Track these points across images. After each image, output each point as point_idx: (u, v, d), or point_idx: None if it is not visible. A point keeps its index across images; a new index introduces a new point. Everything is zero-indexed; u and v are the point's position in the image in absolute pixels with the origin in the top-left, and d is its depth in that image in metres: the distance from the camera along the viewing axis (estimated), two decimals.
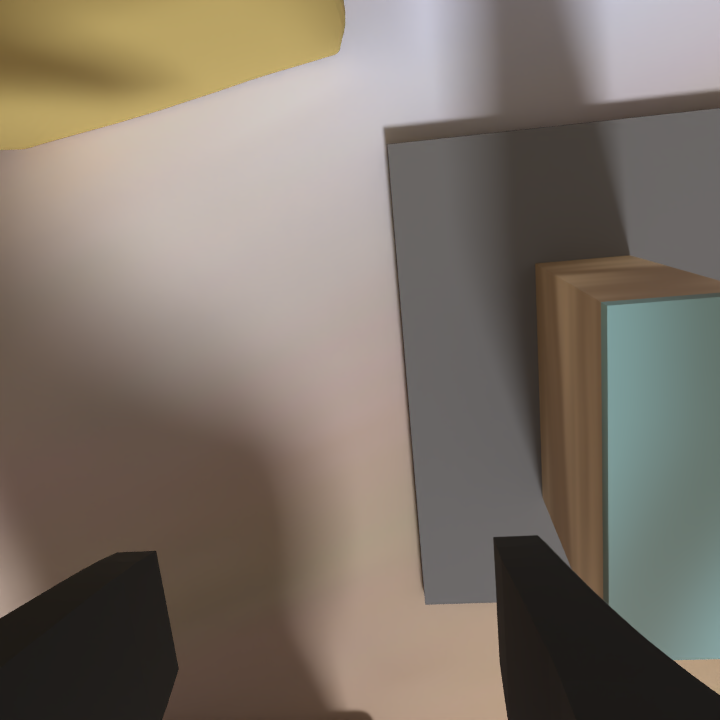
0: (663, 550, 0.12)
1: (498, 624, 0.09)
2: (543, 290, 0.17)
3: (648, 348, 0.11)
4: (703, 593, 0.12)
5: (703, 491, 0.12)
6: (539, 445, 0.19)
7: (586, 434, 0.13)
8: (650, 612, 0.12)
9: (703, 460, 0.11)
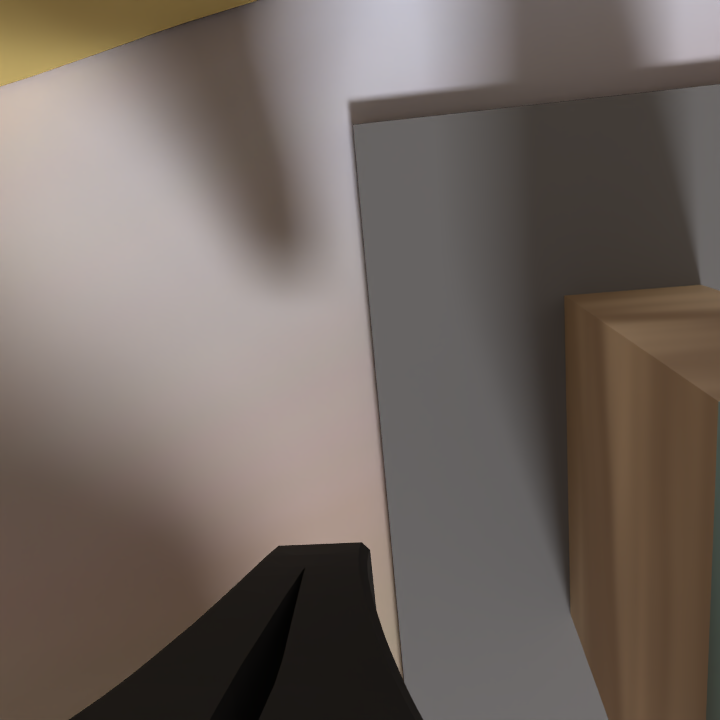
0: None
1: None
2: (578, 337, 0.11)
3: None
4: None
5: None
6: (567, 544, 0.14)
7: (665, 599, 0.08)
8: None
9: None
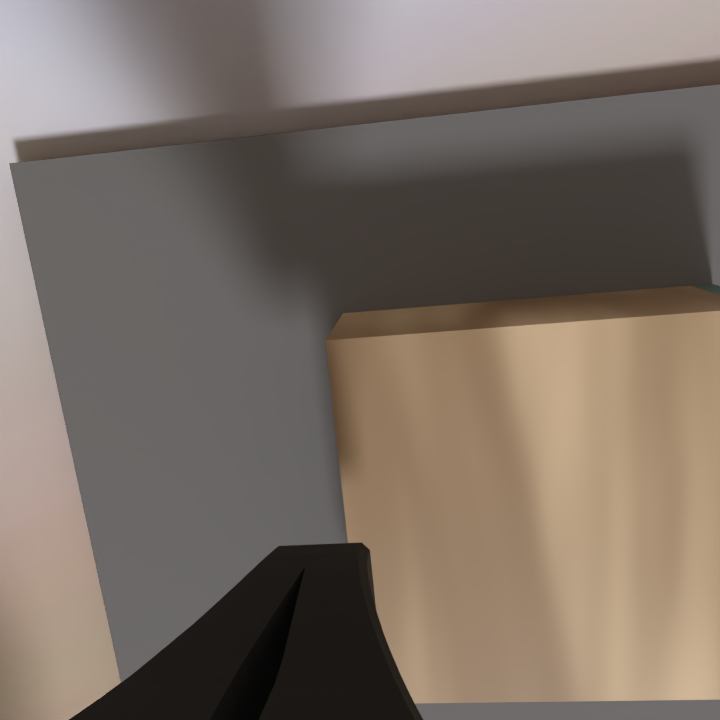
0: None
1: None
2: (396, 370, 0.10)
3: None
4: None
5: None
6: (253, 556, 0.14)
7: (671, 489, 0.11)
8: None
9: None
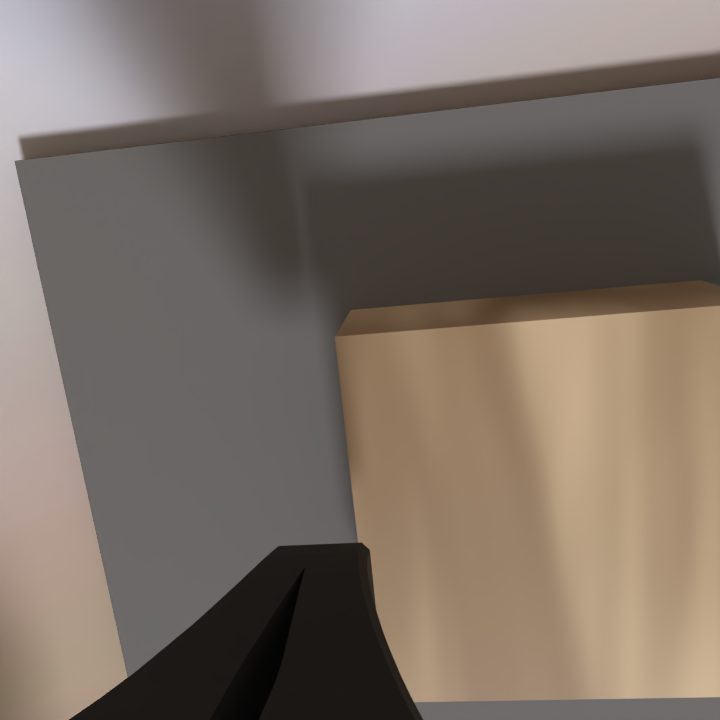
0: None
1: None
2: (406, 366, 0.10)
3: None
4: None
5: None
6: (260, 555, 0.14)
7: (684, 485, 0.10)
8: None
9: None
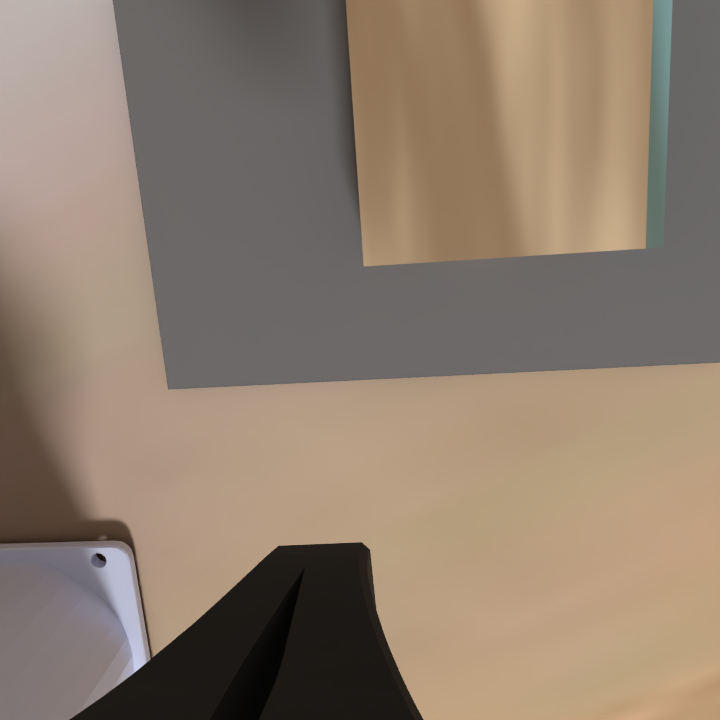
0: None
1: None
2: None
3: None
4: None
5: None
6: (272, 203, 0.18)
7: (595, 64, 0.14)
8: None
9: None
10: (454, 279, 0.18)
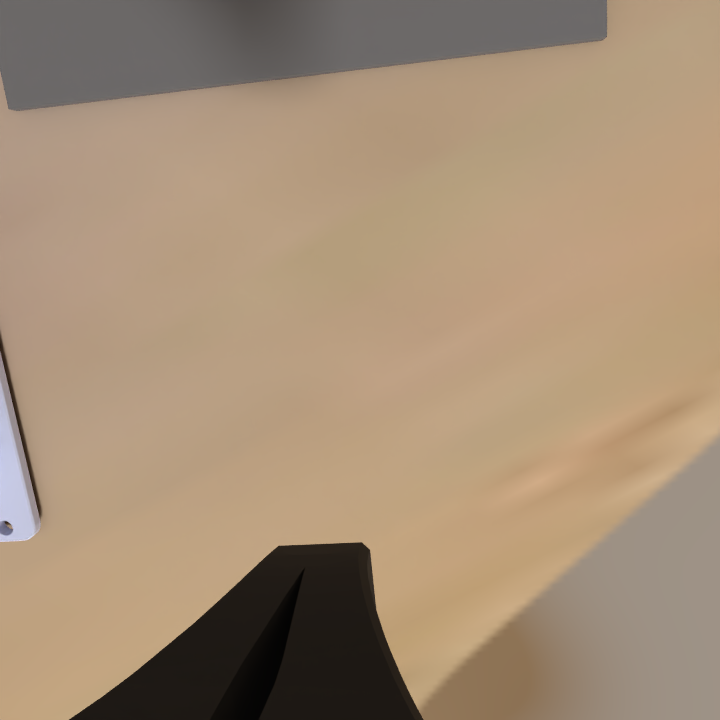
0: None
1: None
2: None
3: None
4: None
5: None
6: None
7: None
8: None
9: None
10: None
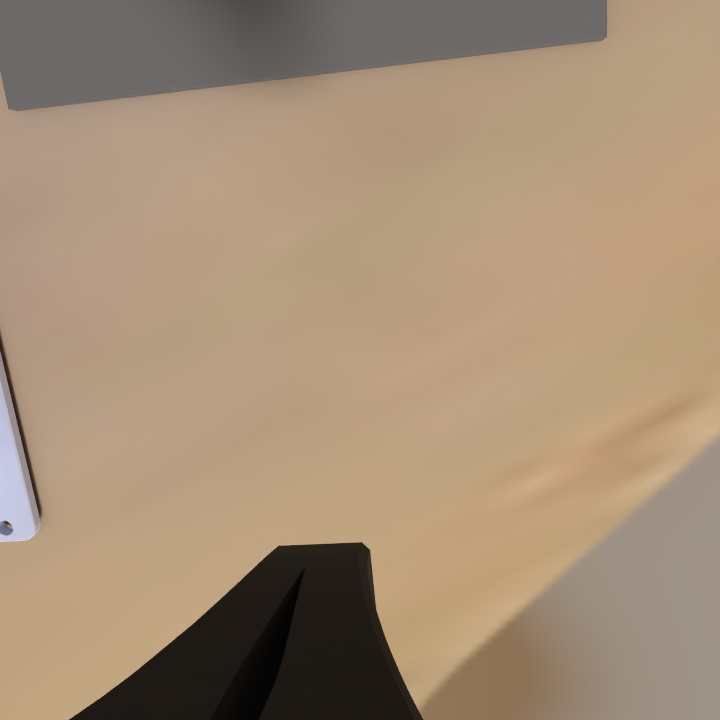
0: None
1: None
2: None
3: None
4: None
5: None
6: None
7: None
8: None
9: None
10: None
